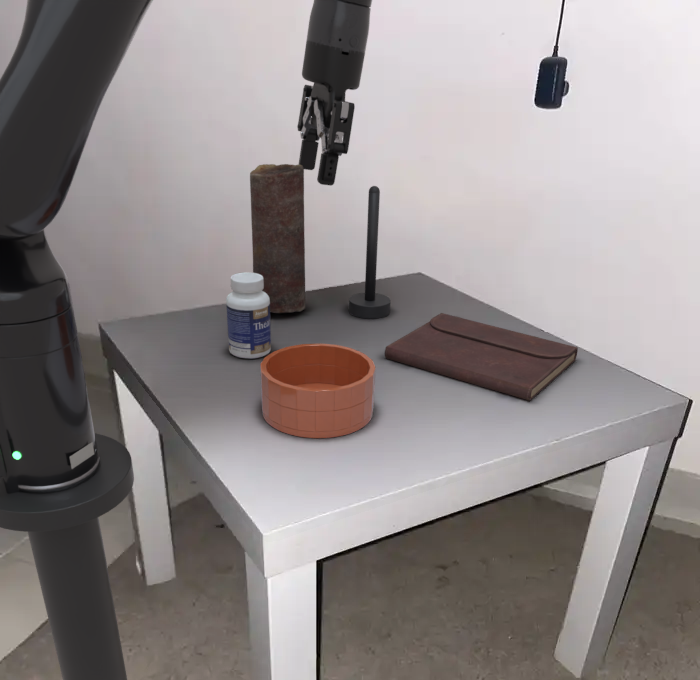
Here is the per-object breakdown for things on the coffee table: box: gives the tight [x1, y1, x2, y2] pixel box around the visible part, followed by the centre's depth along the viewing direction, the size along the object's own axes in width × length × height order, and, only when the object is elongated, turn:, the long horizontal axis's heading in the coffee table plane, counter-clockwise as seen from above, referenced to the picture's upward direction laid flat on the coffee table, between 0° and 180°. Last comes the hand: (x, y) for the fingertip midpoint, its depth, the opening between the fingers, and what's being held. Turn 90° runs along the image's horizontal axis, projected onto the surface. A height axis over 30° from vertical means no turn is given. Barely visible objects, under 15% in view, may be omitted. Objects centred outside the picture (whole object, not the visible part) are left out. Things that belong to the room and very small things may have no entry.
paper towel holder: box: [348, 185, 391, 320], centre depth 108 cm, size 6×6×18 cm
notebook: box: [384, 312, 579, 402], centre depth 98 cm, size 15×20×2 cm
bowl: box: [259, 342, 377, 439], centre depth 84 cm, size 12×12×6 cm
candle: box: [249, 163, 306, 314], centre depth 106 cm, size 8×7×20 cm
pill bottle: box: [225, 271, 272, 360], centre depth 96 cm, size 5×5×10 cm
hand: (315, 176), depth 105 cm, fingers open, 8 cm apart
